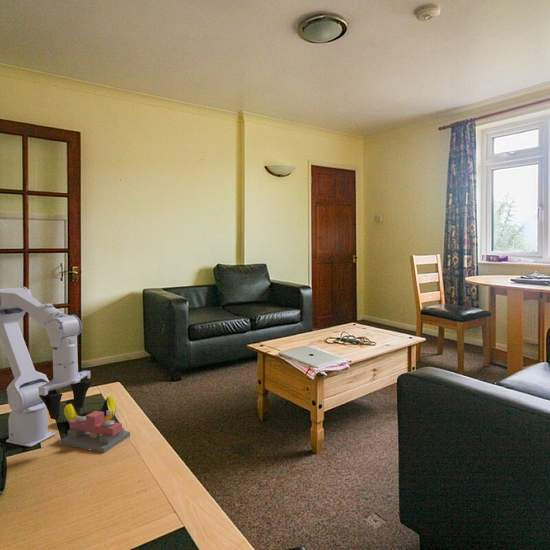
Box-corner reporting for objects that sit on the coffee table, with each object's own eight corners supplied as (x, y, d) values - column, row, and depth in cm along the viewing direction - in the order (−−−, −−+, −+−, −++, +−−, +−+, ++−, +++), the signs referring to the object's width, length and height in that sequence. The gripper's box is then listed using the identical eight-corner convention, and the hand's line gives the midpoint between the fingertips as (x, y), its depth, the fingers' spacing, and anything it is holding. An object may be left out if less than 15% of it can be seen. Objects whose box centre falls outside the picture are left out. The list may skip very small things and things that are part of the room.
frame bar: (69, 428, 108) (69, 412, 108) (79, 423, 111) (79, 408, 111) (112, 436, 103) (112, 419, 103) (121, 430, 106) (121, 414, 106)
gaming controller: (63, 421, 120) (66, 433, 112) (62, 403, 120) (66, 414, 112) (114, 410, 129) (120, 420, 120) (113, 394, 128) (120, 403, 120)
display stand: (60, 444, 105) (60, 433, 105) (88, 428, 114) (88, 418, 114) (104, 452, 100) (104, 441, 100) (130, 435, 110) (129, 425, 110)
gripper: (53, 371, 92) (55, 426, 93) (98, 356, 106) (100, 404, 107) (31, 368, 95) (33, 422, 95) (78, 354, 108) (80, 401, 109)
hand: (67, 412), depth 101 cm, fingers open, 7 cm apart
